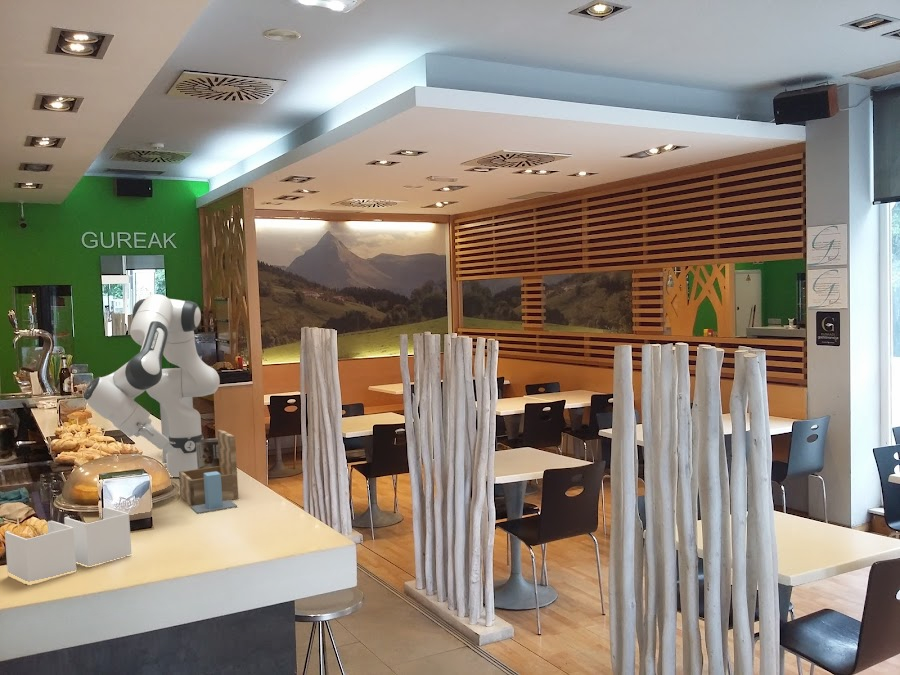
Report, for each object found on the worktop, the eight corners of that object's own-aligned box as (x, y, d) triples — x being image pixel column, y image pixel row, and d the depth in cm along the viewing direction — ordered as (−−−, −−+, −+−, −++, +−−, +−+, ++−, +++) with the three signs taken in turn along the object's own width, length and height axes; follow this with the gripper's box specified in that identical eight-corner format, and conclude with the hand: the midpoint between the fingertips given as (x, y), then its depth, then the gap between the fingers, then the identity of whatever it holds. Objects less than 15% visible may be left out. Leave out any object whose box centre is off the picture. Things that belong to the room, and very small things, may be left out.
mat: (190, 507, 248) (190, 506, 248) (229, 501, 254) (229, 499, 254) (197, 513, 240) (197, 512, 240) (237, 507, 246) (237, 505, 246)
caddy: (180, 496, 263) (176, 435, 262) (225, 489, 270) (221, 429, 269) (191, 506, 249) (187, 442, 248) (238, 498, 256) (234, 436, 255)
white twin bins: (29, 587, 184) (25, 539, 183) (8, 577, 191) (4, 532, 190) (131, 556, 203) (128, 513, 203) (109, 548, 210) (106, 507, 210)
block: (205, 505, 248) (203, 473, 248) (218, 503, 250) (216, 471, 250) (209, 508, 244) (207, 476, 244) (222, 506, 246) (220, 474, 246)
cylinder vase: (169, 462, 319) (165, 399, 318) (159, 457, 329) (155, 396, 328) (200, 457, 326) (196, 395, 325) (189, 453, 336) (186, 393, 335)
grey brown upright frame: (231, 484, 277) (228, 437, 276) (224, 488, 271) (221, 441, 270) (205, 484, 278) (202, 438, 277) (197, 489, 272) (195, 441, 271)
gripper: (148, 417, 227) (186, 447, 233) (136, 408, 245) (172, 436, 251) (133, 435, 225) (171, 464, 231) (122, 425, 243) (158, 453, 249)
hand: (171, 450), depth 241 cm, fingers open, 8 cm apart
